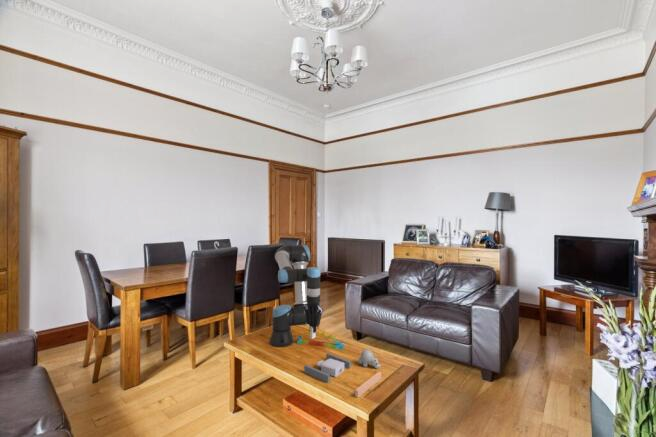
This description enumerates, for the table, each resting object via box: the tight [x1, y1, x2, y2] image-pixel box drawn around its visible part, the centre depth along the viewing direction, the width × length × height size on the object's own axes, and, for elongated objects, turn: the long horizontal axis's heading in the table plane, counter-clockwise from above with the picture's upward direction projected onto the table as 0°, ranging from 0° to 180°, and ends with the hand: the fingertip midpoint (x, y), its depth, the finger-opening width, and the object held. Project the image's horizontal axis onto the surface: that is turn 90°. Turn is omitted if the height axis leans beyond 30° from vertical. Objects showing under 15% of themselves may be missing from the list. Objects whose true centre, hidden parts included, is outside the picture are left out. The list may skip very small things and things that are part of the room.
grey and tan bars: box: [303, 352, 382, 398], centre depth 159 cm, size 34×22×4 cm, turn 51°
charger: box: [315, 358, 345, 378], centre depth 165 cm, size 5×9×15 cm
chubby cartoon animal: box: [357, 349, 381, 369], centre depth 169 cm, size 7×12×8 cm, turn 56°
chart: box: [296, 325, 345, 350], centre depth 196 cm, size 30×3×15 cm, turn 75°
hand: (312, 337), depth 171 cm, fingers closed
